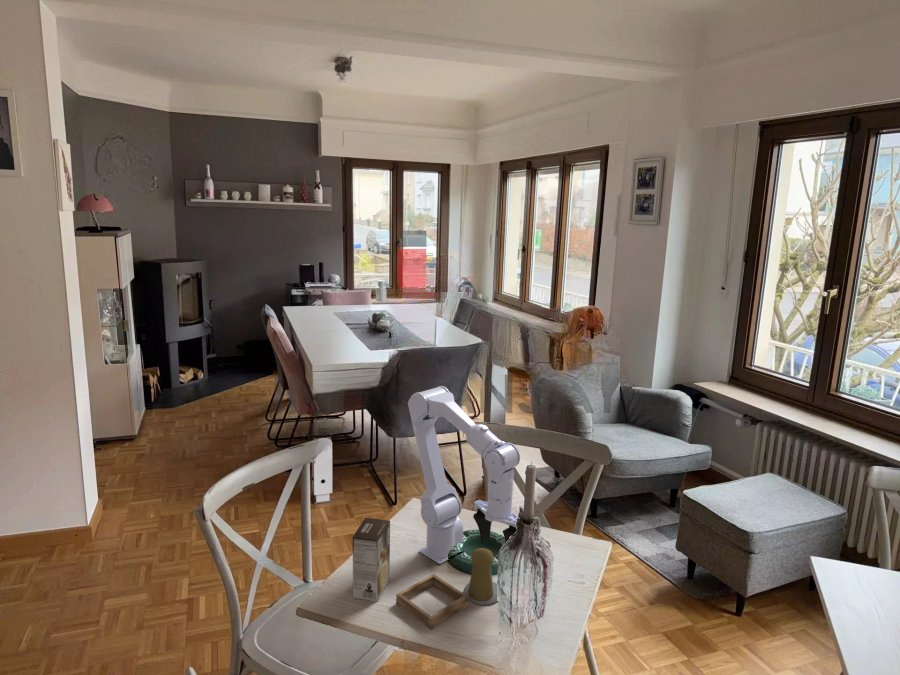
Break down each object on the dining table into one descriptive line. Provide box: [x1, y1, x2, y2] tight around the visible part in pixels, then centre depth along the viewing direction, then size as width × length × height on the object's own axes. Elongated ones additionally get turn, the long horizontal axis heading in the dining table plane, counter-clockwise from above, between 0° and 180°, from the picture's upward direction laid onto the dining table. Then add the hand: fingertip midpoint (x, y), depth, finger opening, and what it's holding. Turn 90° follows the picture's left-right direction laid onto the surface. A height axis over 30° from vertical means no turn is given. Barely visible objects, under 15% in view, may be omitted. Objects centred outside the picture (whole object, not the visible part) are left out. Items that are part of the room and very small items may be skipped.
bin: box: [395, 573, 469, 630], centre depth 141 cm, size 12×12×2 cm
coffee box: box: [352, 517, 391, 602], centre depth 145 cm, size 9×6×16 cm
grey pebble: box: [463, 581, 498, 606], centre depth 147 cm, size 9×9×1 cm
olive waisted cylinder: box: [468, 547, 495, 601], centre depth 144 cm, size 6×6×11 cm
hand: (497, 547), depth 147 cm, fingers open, 7 cm apart
